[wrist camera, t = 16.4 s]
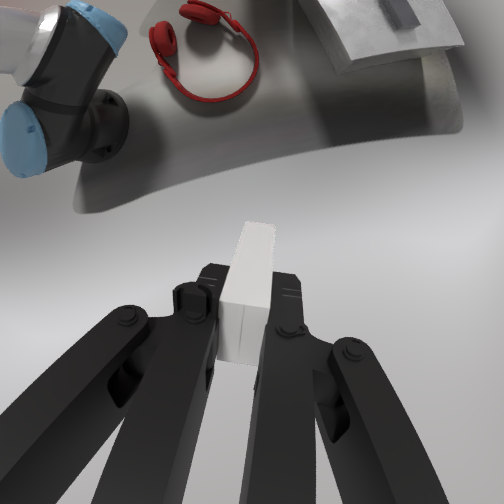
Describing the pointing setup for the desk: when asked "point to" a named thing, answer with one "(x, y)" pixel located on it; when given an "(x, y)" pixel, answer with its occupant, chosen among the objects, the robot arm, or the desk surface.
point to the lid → (389, 26)
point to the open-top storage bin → (336, 51)
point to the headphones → (166, 42)
